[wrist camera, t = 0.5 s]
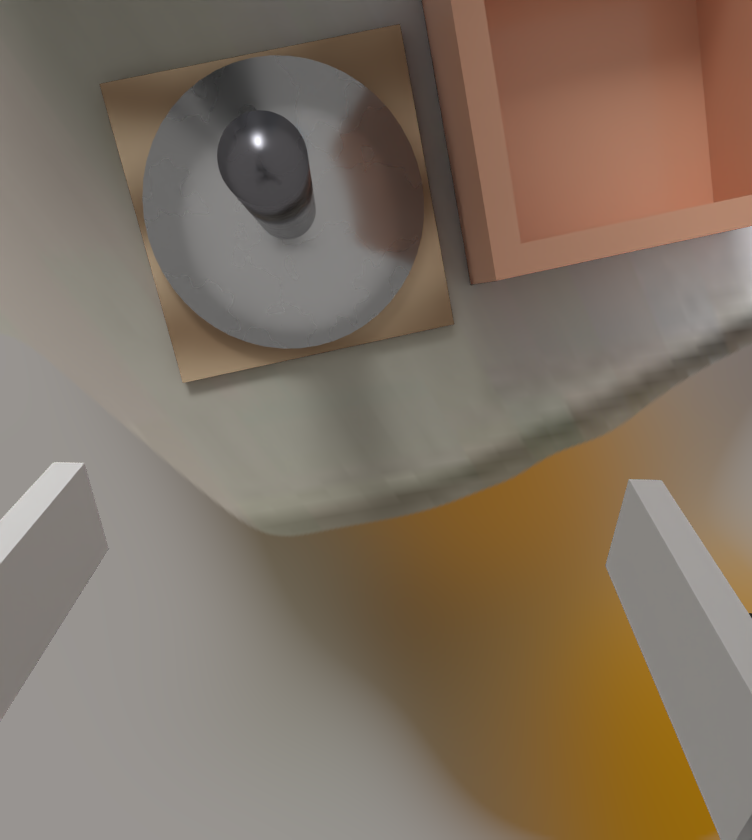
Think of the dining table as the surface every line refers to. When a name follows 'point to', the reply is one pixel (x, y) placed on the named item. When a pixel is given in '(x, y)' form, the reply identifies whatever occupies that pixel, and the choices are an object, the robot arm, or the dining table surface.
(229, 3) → the dining table surface
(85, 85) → the dining table surface
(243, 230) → the lid
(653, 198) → the terracotta square tray
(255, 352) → the trivet
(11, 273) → the dining table surface
